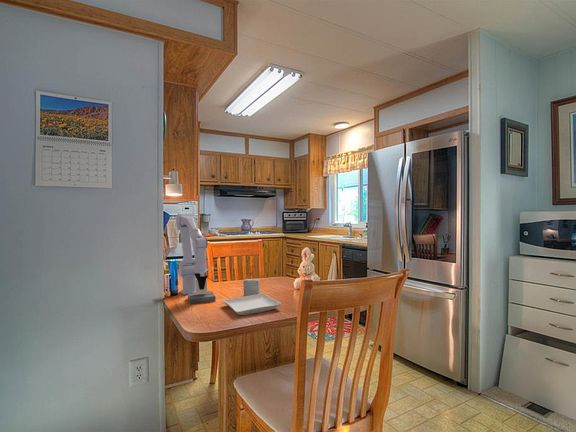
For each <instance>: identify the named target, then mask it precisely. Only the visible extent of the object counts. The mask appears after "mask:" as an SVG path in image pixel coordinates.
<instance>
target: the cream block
mask: <svg viewBox="0 0 576 432" xmlns="http://www.w3.org/2000/svg"><path fill="white" fill-rule="evenodd" d="M195 281H196V293H197V294H199V293H207V292H208V280H207V279H206V282H205V288H204V289H202V290H200V289H199V284H198V280H197V279H196V280H195Z"/></svg>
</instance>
